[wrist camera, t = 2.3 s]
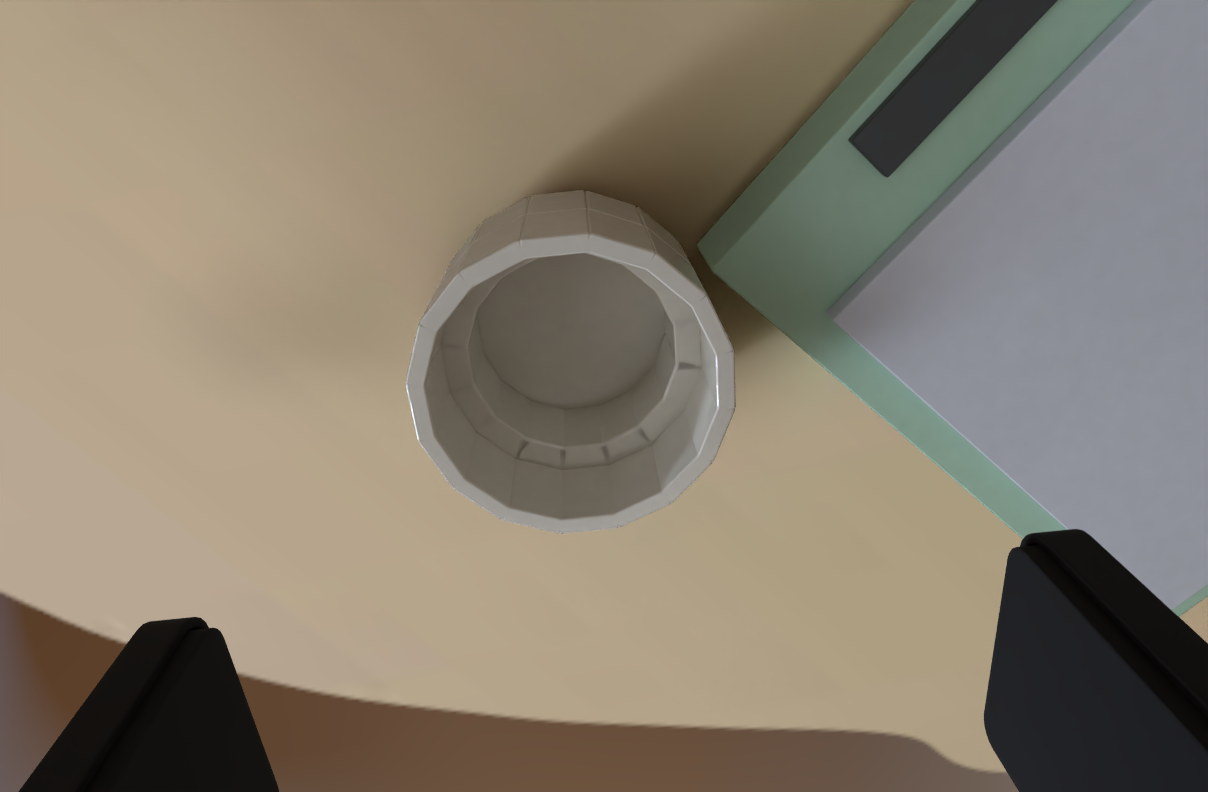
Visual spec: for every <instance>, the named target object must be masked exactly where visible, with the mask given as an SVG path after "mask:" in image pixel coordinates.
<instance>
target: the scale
mask: <svg viewBox="0 0 1208 792" xmlns="http://www.w3.org/2000/svg"><path fill="white" fill-rule="evenodd" d="M697 248H698V249H699V251H700V253H701V254H702V256H703V257H704V259H705V261H706V262H707V264H708V266H709V267H710V269H711V271H712V272H713V273H714V274H715V275H717V276H718V277H719V278H720V279H721V280H722V281H724V282H725V283H726V284H727V285H728V286H729V287H730V288H732V289H733V290H734V291H735V292H736V293H737V294H739V295H740V296H741V297H742V298H743V299H744V300H746V301H747V302H748V303H749V304H750V305H751V306H753V307H754V308H755V309H756V310H757V311H758V312H760V313H761V314H762V315H763V316H764V317H765V318H767V319H768V320H769V321H770V322H771V323H772V324H774V325H775V326H776V327H777V328H778V329H779V330H781V331H782V332H783V333H784V334H785V335H786V336H788V337H789V338H790V339H791V340H792V341H793V342H794V343H796V344H797V345H798V346H799V347H800V348H801V349H803V350H804V351H805V352H806V353H807V354H808V355H810V356H811V357H812V358H813V359H814V360H815V361H817V362H818V363H819V364H820V365H821V366H822V367H824V368H825V369H826V370H827V371H828V372H829V373H831V374H832V375H833V376H834V377H835V378H836V379H838V380H839V381H840V382H841V383H842V384H843V385H845V386H846V387H847V388H848V389H849V390H850V391H851V392H853V393H854V394H855V395H856V396H857V397H858V398H860V399H861V400H862V401H863V402H864V403H865V404H867V405H868V406H869V407H870V408H871V409H872V410H874V411H875V412H876V413H877V414H878V415H879V416H881V417H882V418H883V419H884V420H885V421H886V422H888V423H889V424H890V425H891V426H892V427H893V428H895V429H896V430H897V431H898V432H899V433H900V434H902V435H903V436H904V437H905V438H906V439H907V440H909V441H910V442H911V443H912V444H913V445H914V446H915V447H917V448H918V449H919V450H920V451H921V452H922V453H924V454H925V455H926V456H927V457H928V458H929V459H931V460H932V461H933V462H934V463H935V464H936V465H938V466H939V467H940V468H941V469H942V470H943V471H945V472H946V473H947V474H948V475H949V476H950V477H952V478H953V479H954V480H955V481H956V482H957V483H959V484H960V485H961V486H962V487H963V488H964V489H966V490H967V491H968V492H969V493H970V494H971V495H973V496H974V497H975V498H976V499H977V500H978V501H979V502H981V503H982V504H983V505H984V506H985V507H986V508H988V509H989V510H990V511H991V512H992V513H993V514H995V515H996V516H997V517H998V518H999V519H1000V520H1002V521H1003V522H1004V523H1005V524H1006V525H1007V526H1009V527H1010V528H1011V529H1012V530H1013V531H1014V532H1016V533H1017V534H1018V535H1019V536H1020V537H1021V538H1023V539H1024V537H1025V536H1026V535H1028V534H1031V533H1039V532H1049V531H1059V530H1069V529H1080V530H1083V531H1085V532H1086V533H1088V534H1089V535H1090V536H1092V537H1093V538H1094V539H1095V540H1096V541H1097V542H1098V543H1099V544H1100V545H1101V546H1102V547H1103V548H1105V549H1106V550H1107V551H1108V552H1109V553H1110V554H1111V555H1112V556H1113V557H1114V558H1115V559H1116V560H1118V561H1119V562H1120V563H1121V564H1122V565H1123V566H1124V567H1125V568H1126V569H1127V570H1128V571H1129V572H1131V573H1132V574H1133V575H1134V576H1135V577H1136V578H1137V579H1138V580H1139V581H1140V582H1141V583H1142V584H1144V585H1145V586H1146V587H1147V588H1148V589H1149V590H1150V591H1151V592H1152V593H1153V594H1154V595H1155V596H1157V597H1158V598H1159V599H1160V600H1161V601H1162V602H1163V603H1164V604H1165V605H1166V606H1167V607H1168V608H1170V609H1171V610H1172V611H1173V612H1174V613H1175V614H1176V615H1177V616H1178V617H1179V616H1181V615H1182V614H1183V613H1185V612H1186V611H1188V610H1189V609H1190V608H1192V607H1193V606H1195V605H1196V604H1197V603H1199V602H1200V601H1202V600H1203V599H1204V598H1206V597H1207V596H1208V0H914V1H913V3H912V4H911V5H910V6H909V7H908V8H907V9H906V10H905V12H904V13H903V14H902V15H901V16H900V17H899V18H898V19H897V21H896V22H895V23H894V24H893V25H892V26H891V27H890V28H889V29H888V31H887V32H886V33H885V34H884V35H883V36H882V37H881V38H880V40H879V41H878V42H877V43H876V44H875V45H874V46H873V47H872V49H871V50H870V51H869V52H868V53H867V54H866V55H865V56H864V57H863V59H862V60H861V61H860V62H859V63H858V64H857V65H856V66H855V68H854V69H853V70H852V71H851V72H850V73H849V74H848V75H847V76H846V78H845V79H844V80H843V81H842V82H841V83H840V84H839V85H838V87H837V88H836V89H835V90H834V91H833V92H832V93H831V94H830V96H829V97H828V98H827V99H826V100H825V101H824V102H823V103H822V104H821V106H820V107H819V108H818V109H817V110H816V111H815V112H814V113H813V115H812V116H811V117H810V118H809V119H808V120H807V121H806V122H805V124H804V125H803V126H802V127H801V128H800V129H799V130H798V131H797V132H796V134H795V135H794V136H793V137H792V138H791V139H790V140H789V141H788V143H787V144H786V145H785V146H784V147H783V148H782V149H781V150H780V151H779V153H778V154H777V155H776V156H775V157H774V158H773V159H772V160H771V162H770V163H769V164H768V165H767V166H766V167H765V168H764V169H763V171H762V172H761V173H760V174H759V175H758V176H757V177H756V178H755V179H754V181H753V182H752V183H751V184H750V185H749V186H748V187H747V188H746V190H745V191H744V192H743V193H742V194H741V195H740V196H739V197H738V199H737V200H736V201H735V202H734V203H733V204H732V205H731V206H730V207H729V209H728V210H727V211H726V212H725V213H724V214H723V215H722V216H721V218H720V219H719V220H718V221H717V222H716V223H715V224H714V225H713V227H712V228H711V229H710V230H709V231H708V232H707V233H706V234H705V235H704V237H703V238H702V239H701V240H700V241H699V242H698V243H697Z"/></svg>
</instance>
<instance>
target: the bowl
mask: <svg viewBox="0 0 1208 792" xmlns="http://www.w3.org/2000/svg"><path fill="white" fill-rule="evenodd" d="M733 349H734V348H733V346H732V344H731V342H730V340H729V337H728V335H727V333H726V331H725V329H724V327H723V325H722V323H721V321H720V319H719V317H718V315H717V313H716V311H715V309H714V307H713V305H712V303H711V301H710V299H709V296H708V295H707V293H706V291H705V289H704V287H703V285H702V283H701V282H700V280H699V278H698V276H697V274H696V272H695V270H694V268H693V267H692V265H691V263H690V261H689V259H688V257H687V255H686V254H685V252H684V250H683V248H682V246H681V244H680V243H679V242H678V240H677V239H676V238H675V237H674V236H673V235H671V234H670V233H669V232H668V231H667V230H666V229H664V228H663V227H662V226H661V225H660V224H658V223H657V222H656V221H655V220H654V219H653V218H651V217H650V216H649V215H648V214H647V213H645V212H644V211H643V210H642V209H641V208H639V207H636V206H635V205H632V204H629V203H625V202H622V201H619V200H616V199H613V198H609V197H606V196H603V195H600V194H596V193H593V192H590V191H586V192H585V191H584V190H577V191H567V192H557V193H547V194H537V195H531V196H530V198H529V197H525V198H524V199H522V200H520V201H518V202H516V203H515V204H513V205H511V206H509V207H507V208H505V209H504V210H502V211H500V212H498V213H496V214H495V215H493V216H491V217H489V218H487V219H486V220H484V221H483V222H482V224H479V225H478V226H477V228H476V229H475V230H474V232H473V233H472V234H471V236H470V237H469V238H468V240H467V241H466V242H465V243H464V245H463V246H462V247H461V249H460V250H459V251H458V253H457V254H456V255H455V257H454V258H453V259H452V260H451V262H450V264H449V266H448V268H447V270H446V272H445V274H444V276H443V278H442V280H441V282H440V284H439V286H438V288H437V289H436V291H435V293H434V295H433V297H432V299H431V301H430V303H429V305H428V307H427V309H426V311H425V313H424V315H423V316H422V318H421V320H420V323H419V325H418V328H417V333H416V337H415V342H414V346H413V351H412V355H411V359H410V364H409V368H408V373H407V377H406V389H407V393H408V398H409V402H410V407H411V412H412V416H413V421H414V425H415V430H416V434H417V439H418V440H419V443H420V444H421V446H422V447H423V448H424V450H425V451H426V453H427V454H428V455H429V457H430V458H431V459H432V461H433V462H434V464H435V465H436V466H437V468H438V469H439V471H440V472H441V473H442V475H443V476H444V477H445V479H446V480H447V482H448V483H449V484H450V486H451V487H452V488H453V489H454V490H456V491H457V492H459V493H460V494H462V495H463V496H465V497H466V498H468V499H470V500H471V501H473V502H474V503H476V504H477V505H479V506H480V507H482V508H484V509H485V510H487V511H488V512H490V513H491V514H493V515H494V516H496V517H498V518H499V519H501V520H502V519H503V520H504V521H507V522H511V523H516V524H520V525H524V526H528V527H533V528H537V529H541V530H546V531H550V532H554V533H561V534H563V533H573V532H583V531H593V530H603V529H613V528H618V526H619V527H622V526H624V525H626V524H628V523H630V522H633V521H635V520H637V519H639V518H641V517H643V516H646V515H648V514H650V513H652V512H654V511H656V510H659V509H661V508H663V507H665V506H667V505H669V504H671V502H674V501H675V500H676V499H677V498H678V497H679V496H680V495H681V494H682V493H683V492H684V491H685V490H686V489H687V488H688V487H689V486H690V485H691V484H692V483H693V482H694V481H695V480H696V479H697V478H698V477H699V476H700V475H701V474H702V473H703V472H704V471H705V470H706V469H707V468H708V467H709V466H710V465H711V464H712V461H714V459H715V457H716V454H717V452H718V449H719V447H720V445H721V442H722V440H723V438H724V435H725V433H726V430H727V428H728V426H729V423H730V421H731V418H732V416H733V414H734V411H735V407H736V399H735V352H734V350H733Z"/></svg>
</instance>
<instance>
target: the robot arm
mask: <svg viewBox="0 0 1208 792" xmlns="http://www.w3.org/2000/svg"><path fill="white" fill-rule="evenodd" d="M984 724H985V729H986V733H987V737H988V739H989V742H990V744H991V746H992V748H993V750H994V751H995V753H996V755H997V756H998V758H999V760H1000V761H1001V763H1002V764H1003V766H1004V768H1005V769H1006V771H1007V773H1008V774H1009V776H1010V778H1011V779H1012V781H1013V782H1014V784H1015V786H1016V787H1017V789H1018V791H1019V792H1208V644H1207V643H1206V642H1205V641H1204V640H1203V639H1202V638H1201V637H1200V636H1199V635H1198V634H1197V633H1196V632H1194V631H1193V630H1192V629H1191V628H1190V627H1189V626H1188V625H1187V624H1186V623H1185V622H1184V621H1183V620H1181V619H1180V618H1179V617H1178V616H1177V615H1176V614H1175V613H1174V612H1173V611H1172V610H1171V609H1170V608H1168V607H1167V606H1166V605H1165V604H1164V603H1163V602H1162V601H1161V600H1160V599H1159V598H1158V597H1157V596H1155V595H1154V594H1153V593H1152V592H1151V591H1150V590H1149V589H1148V588H1147V587H1146V586H1145V585H1144V584H1142V583H1141V582H1140V581H1139V580H1138V579H1137V578H1136V577H1135V576H1134V575H1133V574H1132V573H1131V572H1129V571H1128V570H1127V569H1126V568H1125V567H1124V566H1123V565H1122V564H1121V563H1120V562H1119V561H1118V560H1116V559H1115V558H1114V557H1113V556H1112V555H1111V554H1110V553H1109V552H1108V551H1107V550H1106V549H1105V548H1103V547H1102V546H1101V545H1100V544H1099V543H1098V542H1097V541H1096V540H1095V539H1094V538H1093V537H1092V536H1090V535H1089V534H1088V533H1086V532H1085V531H1083V530H1080V529H1069V530H1059V531H1049V532H1039V533H1031V534H1028V535H1026V536H1025V537H1024V539H1023V540H1022V542H1021V545H1020V547H1016V548H1013V549H1012V550H1011V551H1010V553H1009V556H1008V560H1007V566H1006V573H1005V579H1004V586H1003V592H1002V599H1001V605H1000V612H999V619H998V625H997V632H996V638H995V645H994V651H993V658H992V665H991V671H990V678H989V684H988V691H987V697H986V704H985V711H984ZM19 792H279V789H278V786H277V782H276V780H275V777H274V774H273V771H272V769H271V766H270V763H269V761H268V758H267V755H266V752H265V749H264V747H263V744H262V741H261V739H260V736H259V733H258V730H257V728H256V725H255V722H254V719H253V717H252V714H251V711H250V708H249V706H248V703H247V700H246V698H245V695H244V692H243V689H242V686H241V684H240V681H239V678H238V675H237V673H236V670H235V667H234V664H233V662H232V659H231V656H230V653H229V651H228V648H227V645H226V642H225V640H224V637H223V635H222V633H221V632H220V631H219V630H218V629H216V628H209V627H208V626H207V624H206V622H205V621H204V620H202V619H201V618H198V617H191V618H181V619H171V620H161V621H151V622H147V623H145V624H143V625H142V626H141V627H140V628H139V629H138V630H137V631H136V632H135V634H134V635H133V636H132V638H131V639H130V641H129V642H128V643H127V645H126V646H125V647H124V649H123V650H122V651H121V653H120V654H119V656H118V657H117V658H116V660H115V661H114V662H113V664H112V665H111V666H110V668H109V669H108V671H107V672H106V673H105V675H104V676H103V677H102V679H101V680H100V682H99V683H98V684H97V686H96V687H95V688H94V690H93V691H92V692H91V694H90V695H89V696H88V698H87V699H86V701H85V702H84V703H83V705H82V706H81V707H80V709H79V710H78V711H77V713H76V714H75V716H74V717H73V718H72V720H71V721H70V722H69V724H68V725H67V727H66V728H65V729H64V731H63V732H62V733H61V735H60V736H59V737H58V739H57V740H56V742H55V743H54V744H53V746H52V747H51V748H50V750H49V751H48V752H47V754H46V755H45V757H44V758H43V759H42V761H41V762H40V763H39V765H38V766H37V767H36V769H35V770H34V772H33V773H32V774H31V776H30V777H29V778H28V780H27V781H26V782H25V784H24V785H23V787H22V788H21V789H20V791H19Z"/></svg>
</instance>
